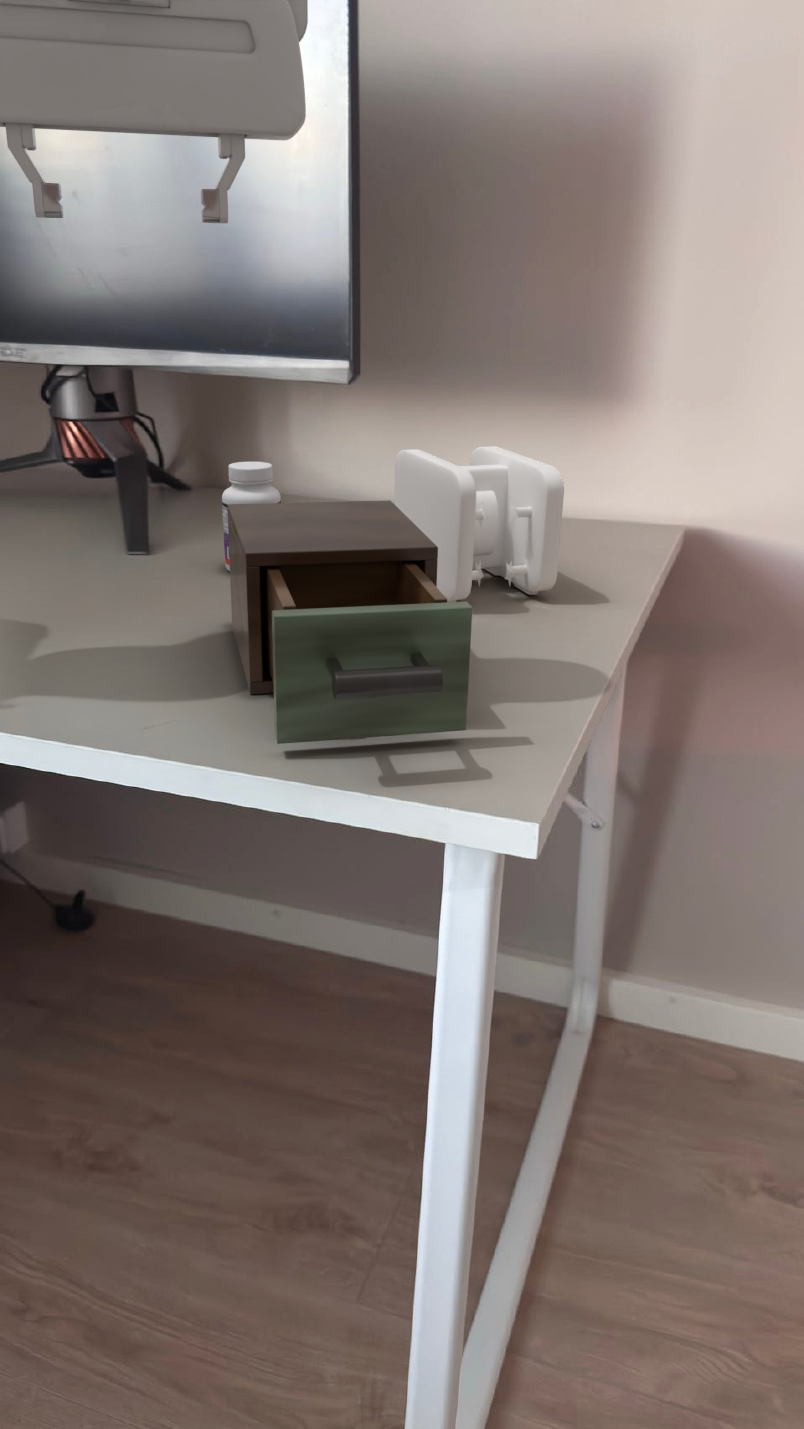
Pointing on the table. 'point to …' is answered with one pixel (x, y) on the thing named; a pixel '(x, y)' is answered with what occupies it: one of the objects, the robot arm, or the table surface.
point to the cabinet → (308, 556)
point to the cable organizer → (485, 516)
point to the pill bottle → (247, 491)
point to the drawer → (364, 651)
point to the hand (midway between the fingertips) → (133, 220)
